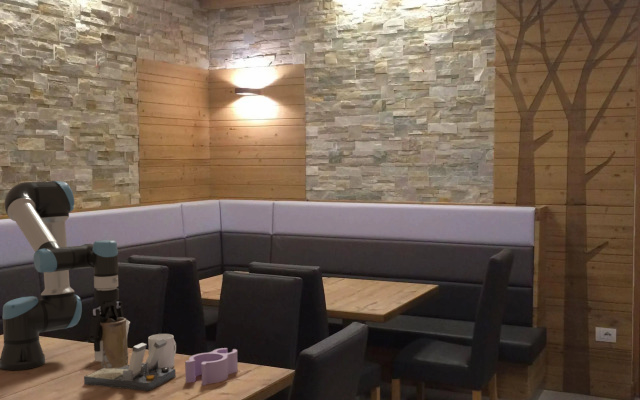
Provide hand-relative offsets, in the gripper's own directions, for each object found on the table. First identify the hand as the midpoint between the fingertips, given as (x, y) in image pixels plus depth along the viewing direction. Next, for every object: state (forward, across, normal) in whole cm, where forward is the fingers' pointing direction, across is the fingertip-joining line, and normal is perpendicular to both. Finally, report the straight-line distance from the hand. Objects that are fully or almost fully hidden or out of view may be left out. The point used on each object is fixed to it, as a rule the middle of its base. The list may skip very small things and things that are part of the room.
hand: (108, 356), depth 239 cm
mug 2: (+8, +21, -8) cm, 24 cm away
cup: (+8, +27, +17) cm, 33 cm away
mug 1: (+3, 0, 0) cm, 3 cm away
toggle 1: (+4, -1, -10) cm, 11 cm away
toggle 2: (+4, +8, -10) cm, 14 cm away
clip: (+9, +16, -30) cm, 35 cm away
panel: (+8, +3, -6) cm, 10 cm away
